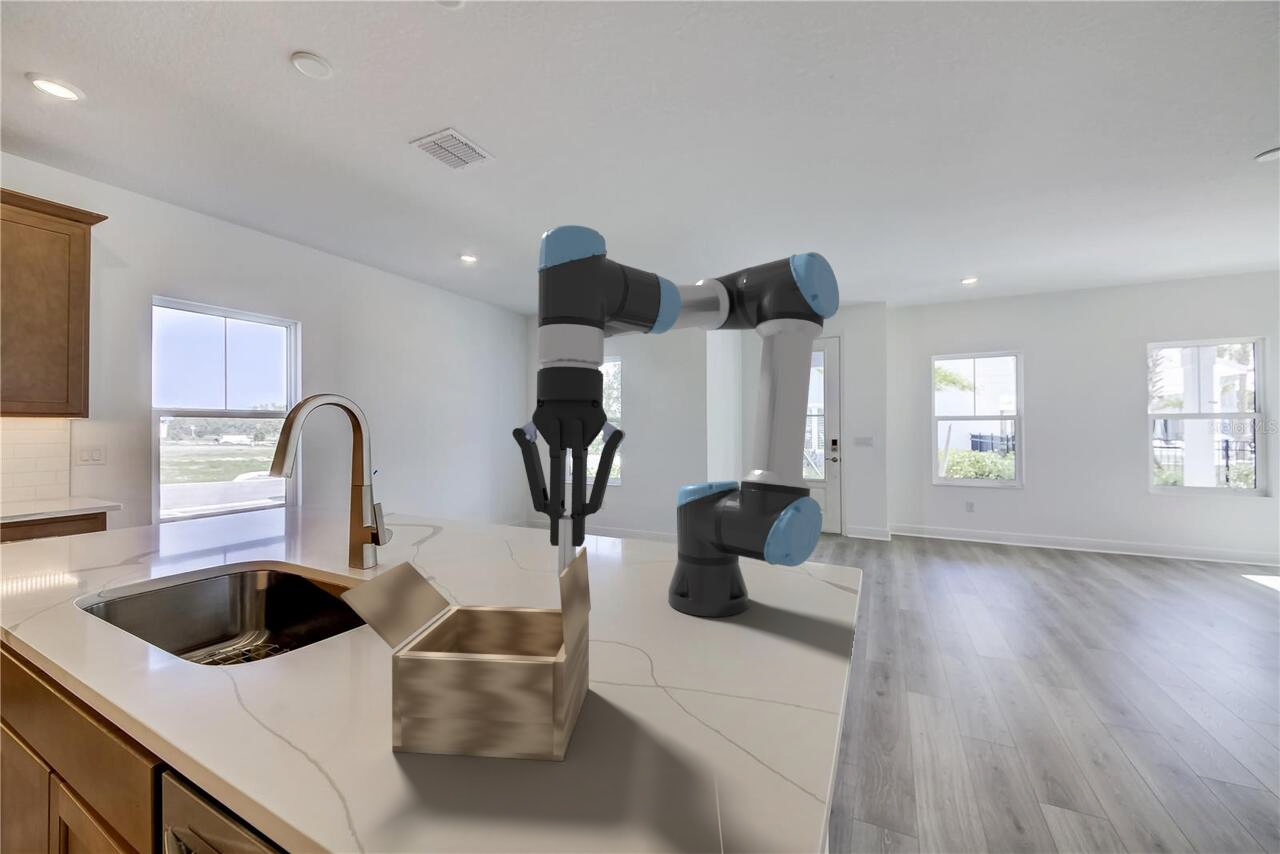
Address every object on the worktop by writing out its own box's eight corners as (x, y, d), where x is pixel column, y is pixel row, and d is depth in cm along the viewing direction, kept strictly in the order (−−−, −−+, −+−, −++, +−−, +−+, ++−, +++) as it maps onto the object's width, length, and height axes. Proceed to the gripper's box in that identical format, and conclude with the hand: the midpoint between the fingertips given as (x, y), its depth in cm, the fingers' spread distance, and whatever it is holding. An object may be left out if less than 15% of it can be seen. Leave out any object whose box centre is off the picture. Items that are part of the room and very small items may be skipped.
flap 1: (407, 560, 65) (405, 563, 65) (342, 593, 53) (339, 595, 53) (450, 603, 65) (448, 606, 65) (395, 646, 52) (392, 649, 52)
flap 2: (587, 609, 63) (590, 609, 63) (564, 654, 51) (568, 654, 51) (583, 546, 63) (586, 546, 63) (559, 576, 51) (562, 576, 51)
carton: (589, 685, 65) (589, 608, 65) (562, 764, 50) (562, 664, 50) (455, 680, 66) (455, 604, 66) (389, 754, 51) (389, 657, 51)
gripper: (630, 372, 60) (626, 567, 60) (525, 371, 61) (522, 562, 62) (622, 364, 53) (618, 587, 53) (503, 363, 54) (500, 581, 54)
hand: (566, 574), depth 57 cm, fingers closed
